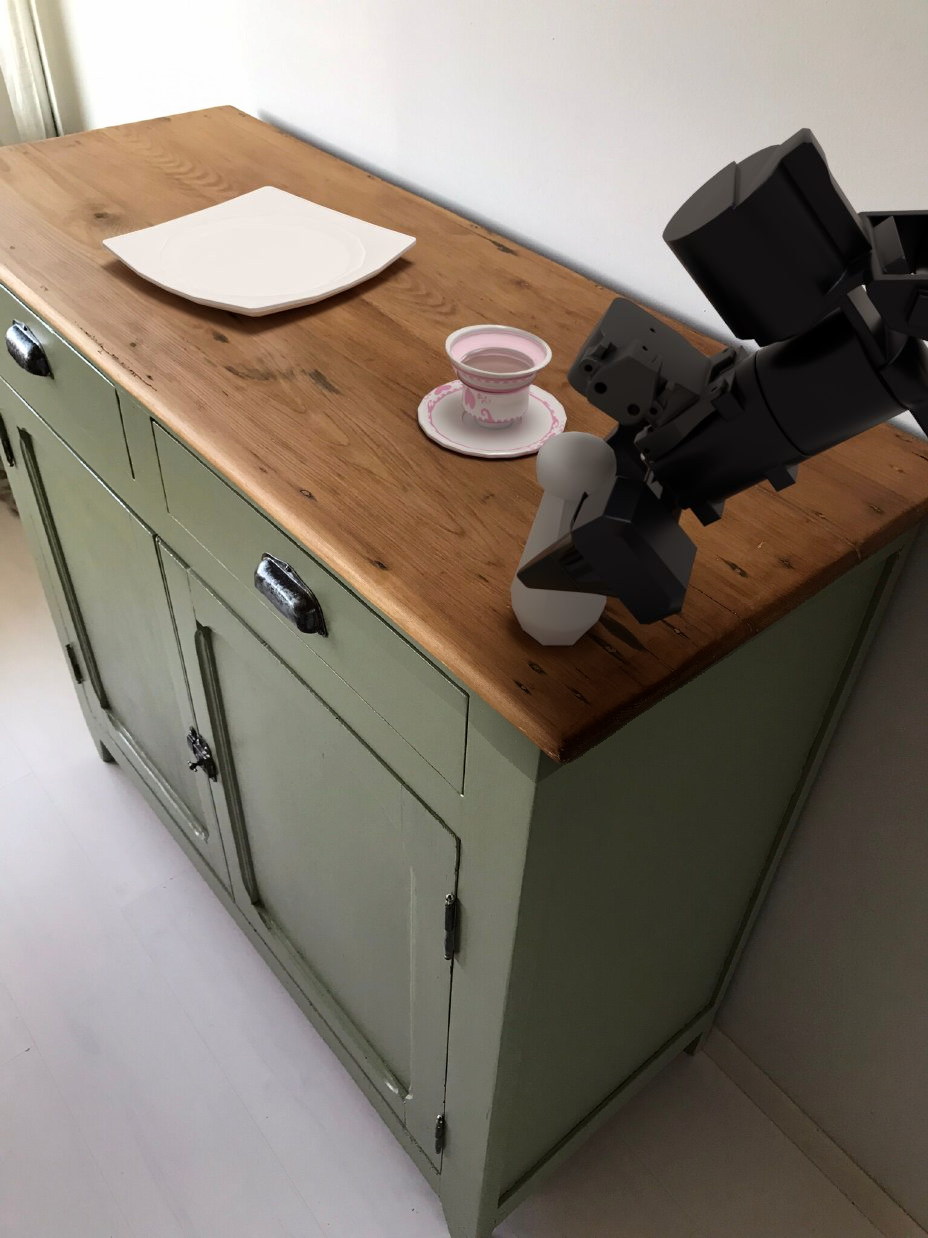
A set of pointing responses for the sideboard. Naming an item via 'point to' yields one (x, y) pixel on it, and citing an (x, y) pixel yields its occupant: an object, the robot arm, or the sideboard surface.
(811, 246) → the robot arm
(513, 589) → the salt shaker
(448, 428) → the teacup
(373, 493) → the sideboard surface
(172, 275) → the plate
